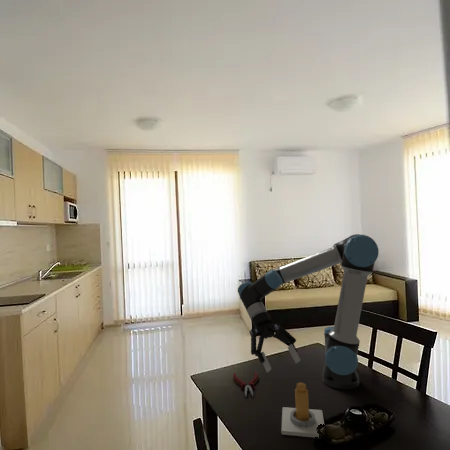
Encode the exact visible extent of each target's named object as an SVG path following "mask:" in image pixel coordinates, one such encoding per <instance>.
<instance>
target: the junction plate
mask: <svg viewBox="0 0 450 450" xmlns="http://www.w3.org/2000/svg"><path fill="white" fill-rule="evenodd" d="M281 413H282V415H281V435H284V436H285V435H286V436H295V437H296V436H297V437H303V438H305V437H306V438H315V437H318V438H317V439H320V438H319V434H318V433H317V431H316V430H315V429H316V428H317V427H318V425H320V424H322V425H323V424H324V425H325V421H324V414H323V409H311V408H309V420H308V421H300V420H298V419H296V407H286V406H285V407H284V406H283V407H282V411H281Z"/></svg>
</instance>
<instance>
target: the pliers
mask: <svg viewBox="0 0 450 450" xmlns="http://www.w3.org/2000/svg"><path fill="white" fill-rule="evenodd" d="M253 374H254V377H253V378H252V379H251V380H250V381H249V382H248V383H246V382H245V381H243V380H242V379H240V378H239V377H238V376H237V373H236V372H234V373H233V374H232V380H233V382H234V383H236V384H237V386H239V387H240V390H244V395H245V398H247V396H248V392H249V395H251V397H254V392H253V390H255V387H256V384H257V383H258V381H259V380H260V379H259V378H260V377H259V375H258V372H257V371H254V373H253Z"/></svg>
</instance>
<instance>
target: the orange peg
mask: <svg viewBox="0 0 450 450" xmlns="http://www.w3.org/2000/svg"><path fill="white" fill-rule="evenodd" d="M294 395H295V397H294V399H295V408H296V419H298V420H300V421H308V420H309V409H310V407H309V406H310V404H309V403H310V402H309V390H308V389H307V384H306V383H305V382H297V383H296V388H295V389H294Z"/></svg>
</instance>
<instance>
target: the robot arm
mask: <svg viewBox="0 0 450 450" xmlns="http://www.w3.org/2000/svg"><path fill="white" fill-rule="evenodd" d="M378 257H379V246H378V245H377V242H376V241H375V239H373V238H372V237H370V236H369V235H366V234H356V233H355V234H352V235H350V236H347V237H346V238H344V239H343V240H341V241H338V242H336V243H333V245H332V247H330V248H327V249H324V250H322V251H319V252H317V253H314V254H311V255H308V256H306V257H303V258H301V259H297V260H296V261H295V260H294V261H291V262H290V263H287V264H284V265H283V266H279V267H277V268H275V269H270V270H268V271H266V272H265V274H263V275H262V276H261V277H259V278H258V279H257V280H256V281H254V282H251V281H245V282H244V283H241V284H240V285H239V286H238V288H237V293H238V296H239V298H240V300H241V302H242V304H243V306H244V308H245V310H246V313H247V314H248V317H249V318H250V320H251V324H252V325H253V327H251V329H250V331H249V336H250V354H251V356H255V357H257V358H258V359H259V360H258V361H259V362H260V364H262V365H263V367H264V369H265V371H266V373H269V372H270V371H271V370H272V366H271V364H270V363H269V360H268V357H267V356H266V354H265V352H264V351H262V349H263V347H264V341H265V340H266V339H268V338H269V339H271V338H274V339H276V340H278V341H280V342H281V343H283V344H285V345H286V346H287V349H288V351H289V353H290V355H291V357H292V359H293V361H294V364H296V365H297V364H298V363H299V362H301V360H302V359H301V358H300V355H299V353H298V349H297V348H296V346H295V343H296V342H297V339H296V338H295V337H294V336H293V335H292V334H291V333H290V332H289V331H287V330H286V329H285V328H284V327H283V326H282V324H281V323H280V322H276V323H275V324H274V323H273V322H272V319H271V316H270V314H269V313H268V310H267V308H266V306H265V305H264V303H263V301H262V299H264V298H265V297H266V296H268V295H269V294H271V293H273V292H274V291H275V290H278V288H279V287H281V286H282V285H284V284H287V283H289V282H291V281H292V282H293V281H294V280H295V281H296V280H297V279H300V278H303V277H306V276H309V275H311V274H315V273H317V272H320V271H323V270H325V269H328V268H330V267H331V268H332V267H334V266H336V265H339V264H340V267H341V268H342V269H343V276H342V282H341V286H340V292H339V299H338V303H337V308H336V309H337V310H336V314H335V320H334V324H333V326H327V327H325V328H324V332H323V335H324V361H325V363H324V367H323V369H322V374H321V378H322V382H323V383H324V384H325V385H326V386H328V387H331V388H334V389H338V390H354V389H356V388H358V387H359V386H360V377H359V374H358V372H357V368H358V365H359V359H358V353H359V346H360V343H361V342H360V341H361V340H360V339H359V338H358V331H359V330H358V329H359V325H360V318H361V313H362V308H363V302H364V298H365V290H366V286H367V282H368V276H370V275H371V274H373V272H374V268H375V263H376V261H377V259H378ZM257 334H258V335H259V336H258V342H257Z"/></svg>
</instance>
